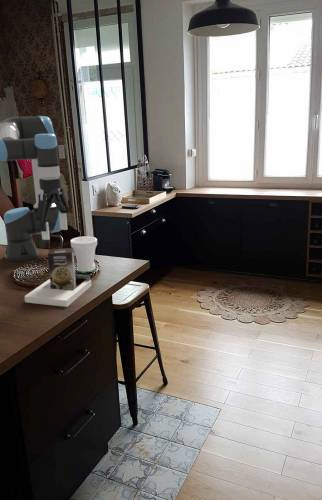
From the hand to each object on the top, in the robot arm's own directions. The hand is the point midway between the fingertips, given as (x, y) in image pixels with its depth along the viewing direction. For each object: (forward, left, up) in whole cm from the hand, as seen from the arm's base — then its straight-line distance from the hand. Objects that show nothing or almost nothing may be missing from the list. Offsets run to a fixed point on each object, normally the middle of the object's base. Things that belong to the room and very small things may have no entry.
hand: (55, 234), depth 160 cm
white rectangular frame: (+5, +2, -22) cm, 23 cm away
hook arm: (-4, +2, -22) cm, 22 cm away
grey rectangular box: (+2, +2, -22) cm, 22 cm away
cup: (-20, +1, -22) cm, 29 cm away
